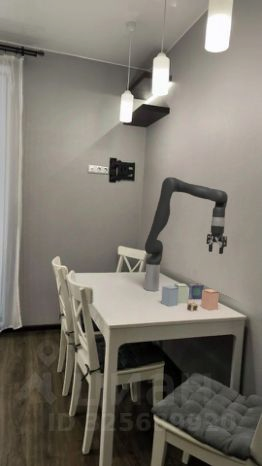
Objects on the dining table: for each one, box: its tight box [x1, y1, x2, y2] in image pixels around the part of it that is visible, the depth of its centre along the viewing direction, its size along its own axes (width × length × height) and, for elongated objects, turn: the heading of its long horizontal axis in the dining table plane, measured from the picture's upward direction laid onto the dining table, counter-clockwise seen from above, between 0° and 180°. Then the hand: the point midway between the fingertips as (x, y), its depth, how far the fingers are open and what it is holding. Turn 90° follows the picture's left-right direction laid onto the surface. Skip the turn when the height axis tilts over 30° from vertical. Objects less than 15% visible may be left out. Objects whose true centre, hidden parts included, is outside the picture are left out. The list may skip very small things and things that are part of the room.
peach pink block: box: [200, 288, 220, 311], centre depth 178 cm, size 6×6×10 cm
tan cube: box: [186, 301, 199, 313], centre depth 173 cm, size 4×4×4 cm
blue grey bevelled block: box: [160, 284, 179, 307], centre depth 181 cm, size 6×6×10 cm
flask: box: [188, 281, 204, 300], centre depth 196 cm, size 9×3×11 cm, turn 104°
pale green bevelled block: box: [173, 282, 190, 304], centre depth 188 cm, size 6×6×10 cm
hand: (215, 252), depth 186 cm, fingers open, 8 cm apart
